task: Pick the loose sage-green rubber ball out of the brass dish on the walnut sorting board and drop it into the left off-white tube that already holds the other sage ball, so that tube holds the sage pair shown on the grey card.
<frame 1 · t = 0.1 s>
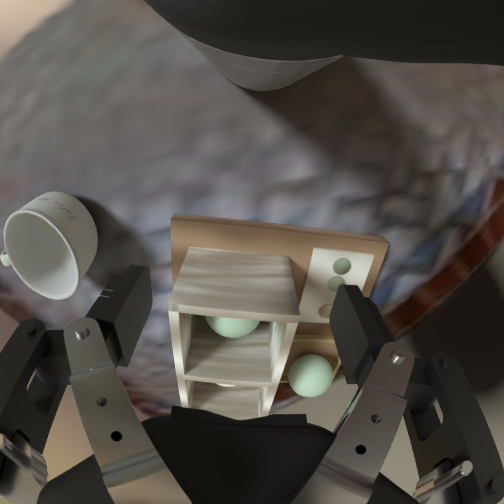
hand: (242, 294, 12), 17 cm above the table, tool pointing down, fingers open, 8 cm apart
sorting board: (268, 316, 35), on the table
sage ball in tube: (234, 291, 31), point 1 cm above the table, touching sorting board
sage ball: (307, 359, 37), point 1 cm above the table, touching sorting board
teacup: (64, 224, 29), on the table
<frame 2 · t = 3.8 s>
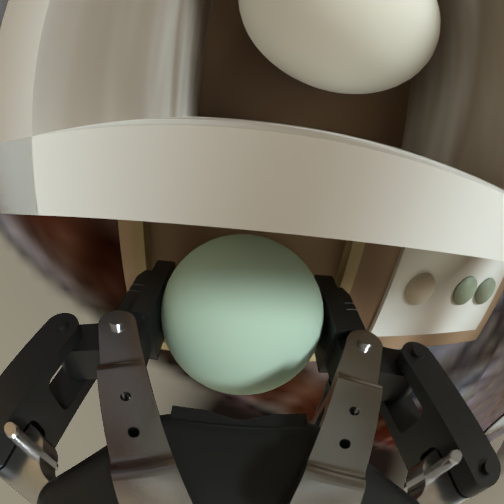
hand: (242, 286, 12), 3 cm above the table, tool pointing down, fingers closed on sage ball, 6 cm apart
cream ball: (319, 30, 8), point 1 cm above the table, touching sorting board
sorting board: (392, 150, 12), on the table
chalice: (502, 417, 35), on the table
sage ball: (244, 273, 13), point 1 cm above the table, touching gripper, sorting board
when the fingers open (13 cm above the table, at t = 8.6 s): sage ball drops 3 cm and tips over, resting on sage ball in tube.
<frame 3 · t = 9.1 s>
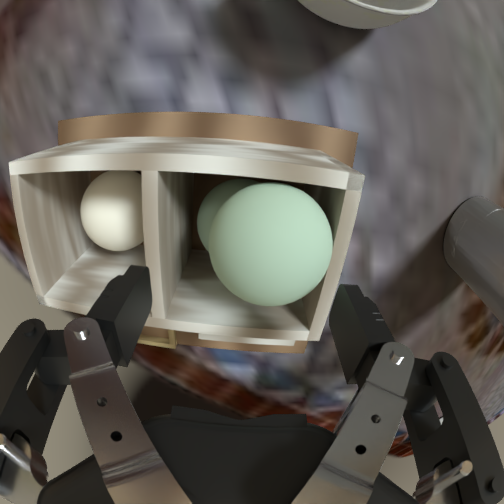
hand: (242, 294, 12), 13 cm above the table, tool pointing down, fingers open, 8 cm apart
cream ball: (134, 197, 21), point 1 cm above the table, touching sorting board
sorting board: (190, 243, 25), on the table
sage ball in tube: (246, 205, 22), point 2 cm above the table, tilted 8°, touching sage ball, sorting board
sage ball: (236, 246, 16), point 8 cm above the table, tilted 45°, touching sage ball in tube
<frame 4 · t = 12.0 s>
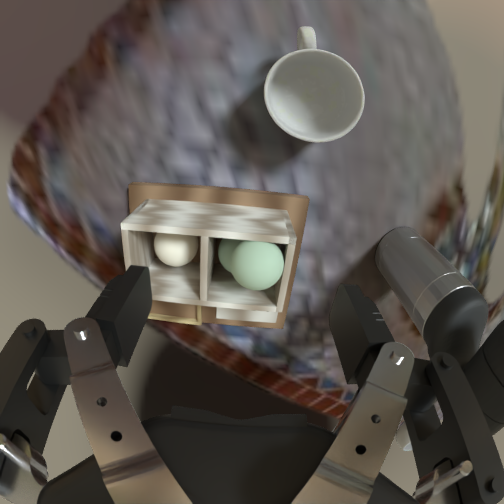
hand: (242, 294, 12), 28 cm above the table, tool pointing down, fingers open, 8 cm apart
cream ball: (181, 234, 39), point 1 cm above the table, touching sorting board
sorting board: (213, 260, 43), on the table
chalice: (407, 402, 66), on the table
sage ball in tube: (246, 240, 40), point 2 cm above the table, tilted 13°, touching sage ball, sorting board
sage ball: (238, 266, 34), point 8 cm above the table, tilted 58°, touching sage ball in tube, sorting board
teacup: (304, 87, 32), on the table
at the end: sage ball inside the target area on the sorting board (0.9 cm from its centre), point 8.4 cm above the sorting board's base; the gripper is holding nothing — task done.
